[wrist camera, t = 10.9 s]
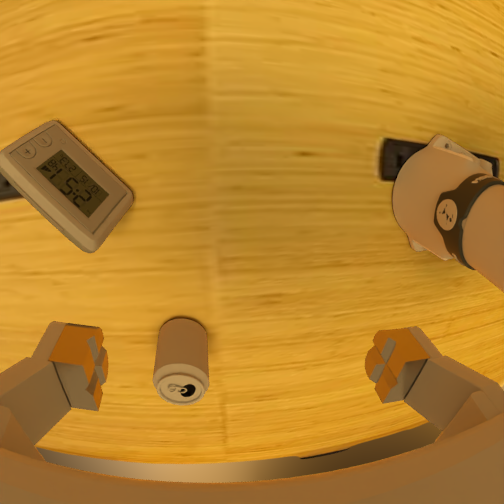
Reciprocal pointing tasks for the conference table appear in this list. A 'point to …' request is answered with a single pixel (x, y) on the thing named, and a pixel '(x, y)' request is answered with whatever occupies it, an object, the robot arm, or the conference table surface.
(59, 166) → the digital clock
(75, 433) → the conference table surface
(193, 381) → the can
